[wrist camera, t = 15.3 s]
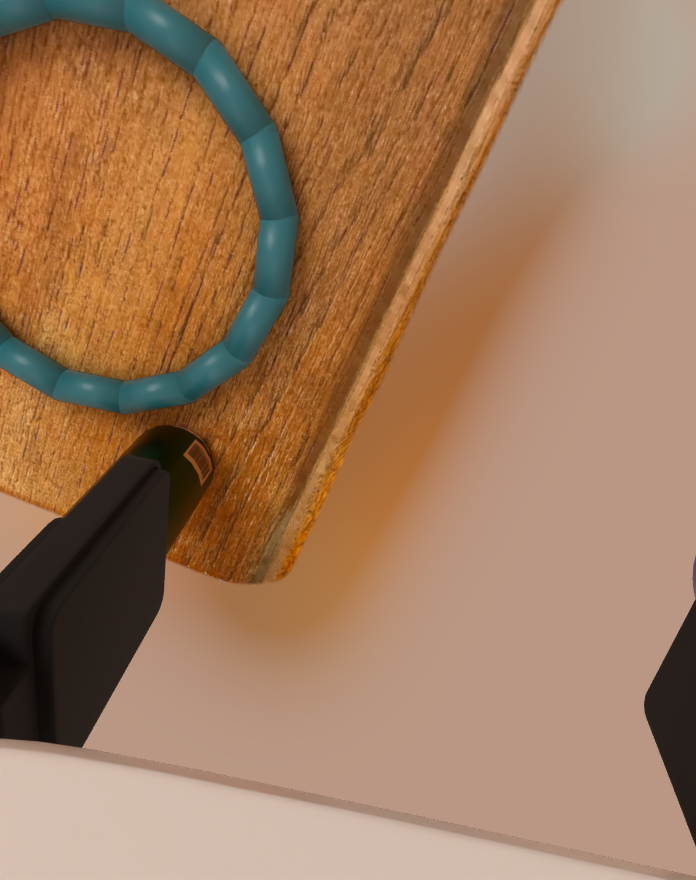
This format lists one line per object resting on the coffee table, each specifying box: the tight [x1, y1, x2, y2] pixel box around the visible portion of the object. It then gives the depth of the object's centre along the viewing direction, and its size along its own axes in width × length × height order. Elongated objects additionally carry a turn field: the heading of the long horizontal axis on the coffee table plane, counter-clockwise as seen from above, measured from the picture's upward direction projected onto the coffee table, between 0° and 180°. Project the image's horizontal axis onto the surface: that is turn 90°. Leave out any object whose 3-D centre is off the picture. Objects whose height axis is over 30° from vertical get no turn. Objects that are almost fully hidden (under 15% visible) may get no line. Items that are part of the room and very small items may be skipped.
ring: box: [0, 0, 299, 414], centre depth 34 cm, size 22×22×2 cm
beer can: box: [62, 425, 214, 555], centre depth 36 cm, size 5×5×12 cm
